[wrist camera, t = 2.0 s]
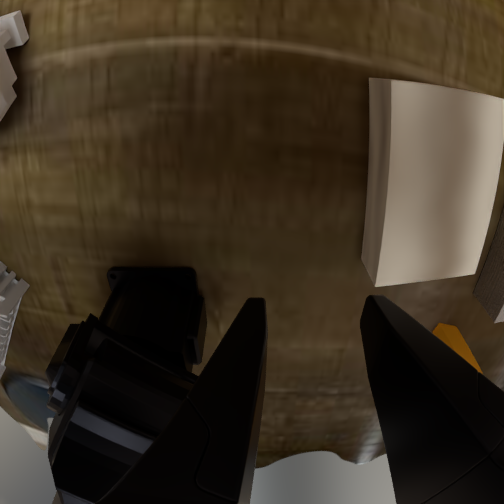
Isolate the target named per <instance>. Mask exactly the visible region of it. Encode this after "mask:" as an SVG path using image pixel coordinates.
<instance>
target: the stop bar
mask: <svg viewBox="0 0 504 504" xmlns="http://www.w3.org/2000/svg"><path fill="white" fill-rule="evenodd" d="M473 294H474V295H475V296H476V298H477V299H478V301H479V302H480V303H481V305H482V306H483V308H484V309H485V310H486V312H487V313H488V315H489V316H490V317H491V319H492V320H493V322H494V323H497V322H502V321H504V208H503V211H502V215H501V218H500V221H499V224H498V228H497V231H496V234H495V237H494V240H493V243H492V246H491V249H490V251H489V254H488V257H487V260H486V262H485V265H484V267H483V270H482V273H481V275H480V278H479V280H478V282H477V285H476V287H475V290H474V292H473Z"/></svg>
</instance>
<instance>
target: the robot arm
mask: <svg viewBox="0 0 504 504" xmlns="http://www.w3.org/2000/svg"><path fill="white" fill-rule="evenodd" d="M112 273H113V274H115V275H116V276H114V275H113V274H112ZM187 274H188V275H190V276H191V277H187V276H186V275H187ZM107 278H108V281H109V284H110V288H111V291H112V293H111V295H110V297H109V299H108V301H107V303H106V305H105V307H104V309H103V311H102V313H101V315H100V317H99V319H98V318H97V317H95V316H94V315H92V314H91V313H90V315H89V316H88V318H87V320H86V321H85V322H84V321H82V322H81V323H80V324H70V326H69V328H68V329H67V331H66V333H65V335H64V337H63V339H62V341H61V343H60V345H59V346H58V348H57V350H56V352H55V354H54V356H53V358H52V360H51V362H50V364H49V366H48V368H47V370H46V372H45V375H46V378H47V381H48V383H49V386H50V388H49V390H48V394H50V396H49V399H48V402H47V405H46V407H47V408H49V409H51V410H52V411H54V412H56V414H55V416H54V419H53V421H52V424H51V427H50V430H49V444H48V458H49V462H50V466H51V470H52V474H53V478H54V482H55V487H56V490H57V492H56V495H55V497H54V500H53V503H52V504H250V498H251V491H252V484H253V477H254V470H255V463H256V455H257V448H258V440H259V432H260V425H261V417H262V409H263V401H264V392H265V378H266V359H267V339H268V327H267V315H266V302H265V299H264V298H248V299H247V300H246V302H245V303H244V305H243V307H242V308H241V310H240V311H239V313H238V315H237V316H236V318H235V320H234V321H233V323H232V324H231V326H230V328H229V329H228V331H227V332H226V334H225V336H224V337H223V339H222V340H221V342H220V344H219V345H218V347H217V348H216V350H215V352H214V353H213V355H212V356H211V358H210V360H209V361H208V363H207V364H206V366H205V367H204V369H203V371H202V372H201V374H200V375H199V376H197V375H195V374H193V373H192V367H193V365H199V364H200V363H201V362H202V356H203V348H204V341H205V334H206V327H207V318H206V310H205V302H204V298H203V297H202V296H201V295H199V294H198V286H197V278H196V272H195V271H194V270H193V269H191V268H126V267H113V268H110V269H109V271H108V273H107ZM360 329H361V335H362V341H363V347H364V354H365V360H366V367H367V373H368V379H369V383H370V387H371V391H372V395H373V399H374V402H375V406H376V410H377V414H378V419H379V423H380V427H381V431H382V435H383V440H384V444H385V449H386V453H387V458H388V463H389V467H390V472H391V477H392V482H393V488H394V492H395V498H396V503H397V504H504V392H503V391H502V390H501V389H500V388H499V387H497V386H496V385H495V384H494V383H492V382H491V381H490V380H489V379H488V378H486V377H485V376H484V375H483V374H482V373H481V372H478V370H477V369H476V368H474V367H473V366H472V365H471V364H470V363H468V362H467V361H466V360H465V359H464V358H462V357H461V356H460V355H459V354H458V353H456V352H455V351H454V350H453V349H451V348H450V347H449V346H448V345H446V344H445V343H444V342H443V341H442V340H440V339H439V338H438V337H437V336H435V335H434V334H433V333H432V332H430V331H429V330H428V329H427V328H425V327H424V326H423V325H422V324H420V323H419V322H418V321H416V320H415V319H414V318H413V317H411V316H410V315H409V314H408V313H406V312H405V311H404V310H402V309H401V308H400V307H399V306H397V305H396V304H395V303H393V302H392V301H391V300H389V299H388V298H387V297H386V296H384V295H369V296H368V297H367V298H366V301H365V305H364V308H363V312H362V315H361V319H360Z"/></svg>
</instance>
